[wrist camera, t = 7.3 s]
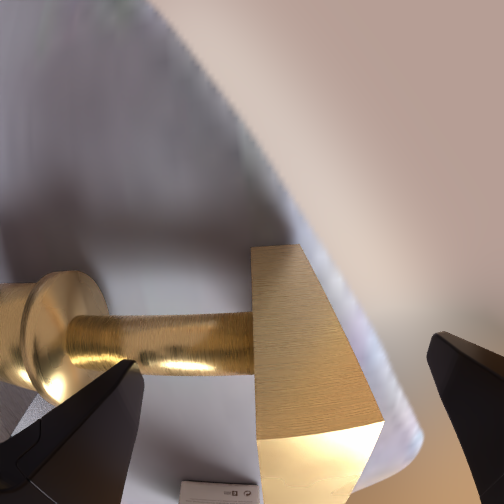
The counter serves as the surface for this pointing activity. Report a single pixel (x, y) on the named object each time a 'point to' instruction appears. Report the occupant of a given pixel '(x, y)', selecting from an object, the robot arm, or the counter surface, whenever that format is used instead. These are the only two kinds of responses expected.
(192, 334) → the brass door handle
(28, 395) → the housing
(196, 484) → the skincare box
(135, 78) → the counter surface
